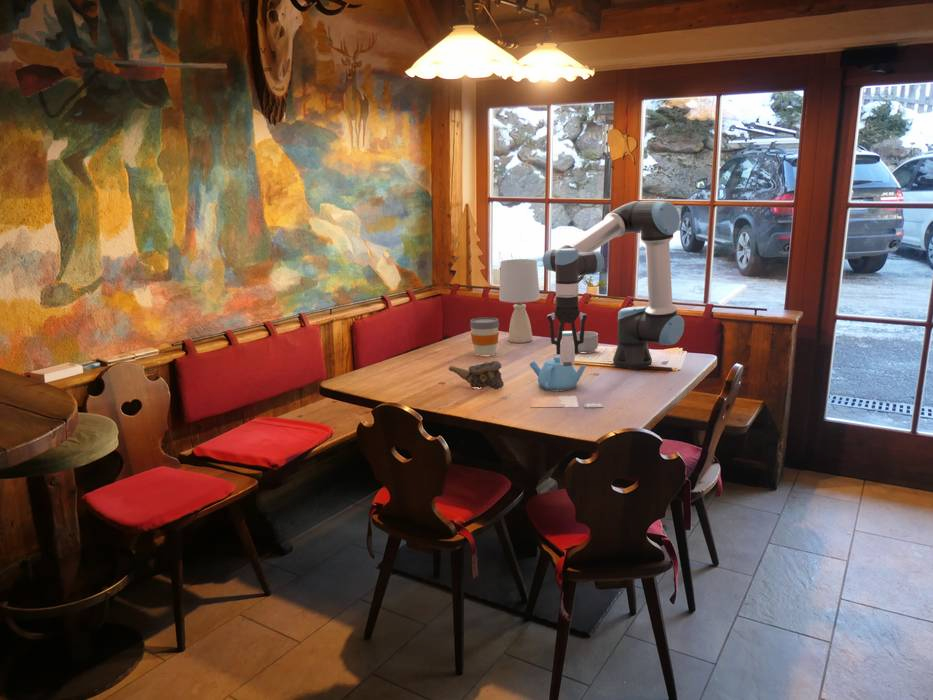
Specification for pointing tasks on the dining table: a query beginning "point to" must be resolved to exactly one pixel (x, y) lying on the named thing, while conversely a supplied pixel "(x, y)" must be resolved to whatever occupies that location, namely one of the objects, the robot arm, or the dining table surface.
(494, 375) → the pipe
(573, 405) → the paper
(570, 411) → the dining table surface
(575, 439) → the dining table surface
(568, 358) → the grey rectangular block
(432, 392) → the dining table surface
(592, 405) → the word card
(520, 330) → the lamp
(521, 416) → the dining table surface
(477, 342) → the reusable coffee cup
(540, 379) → the teapot
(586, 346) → the teacup
